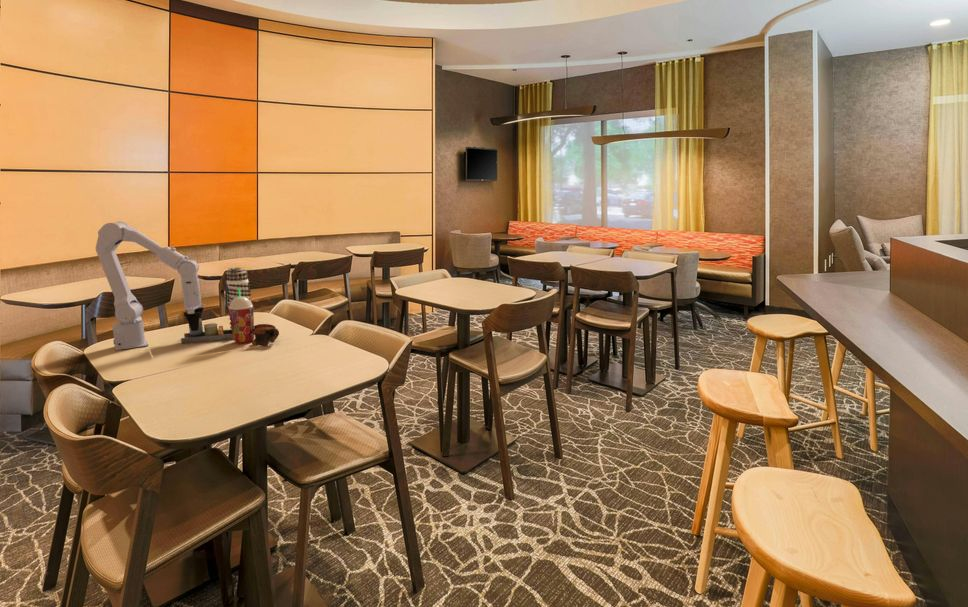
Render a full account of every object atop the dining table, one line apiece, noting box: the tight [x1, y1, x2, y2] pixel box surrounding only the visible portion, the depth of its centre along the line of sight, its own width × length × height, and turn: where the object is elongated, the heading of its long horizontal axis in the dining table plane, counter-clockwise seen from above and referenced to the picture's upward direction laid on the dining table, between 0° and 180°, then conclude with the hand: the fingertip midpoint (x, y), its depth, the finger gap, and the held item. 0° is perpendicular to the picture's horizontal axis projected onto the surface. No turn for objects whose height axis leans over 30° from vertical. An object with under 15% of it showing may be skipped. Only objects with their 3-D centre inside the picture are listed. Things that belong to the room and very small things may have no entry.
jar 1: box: [188, 317, 204, 335], centre depth 198 cm, size 4×4×5 cm
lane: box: [180, 328, 234, 345], centre depth 200 cm, size 18×8×4 cm, turn 111°
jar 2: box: [203, 322, 219, 336], centre depth 200 cm, size 4×4×5 cm
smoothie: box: [227, 289, 255, 345], centre depth 194 cm, size 8×8×20 cm
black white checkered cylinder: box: [225, 267, 252, 330], centre depth 213 cm, size 9×9×25 cm
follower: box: [217, 325, 224, 335], centre depth 202 cm, size 1×6×4 cm, turn 21°
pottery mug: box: [251, 323, 280, 347], centre depth 196 cm, size 12×10×8 cm
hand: (195, 329), depth 198 cm, fingers closed on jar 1, 4 cm apart
